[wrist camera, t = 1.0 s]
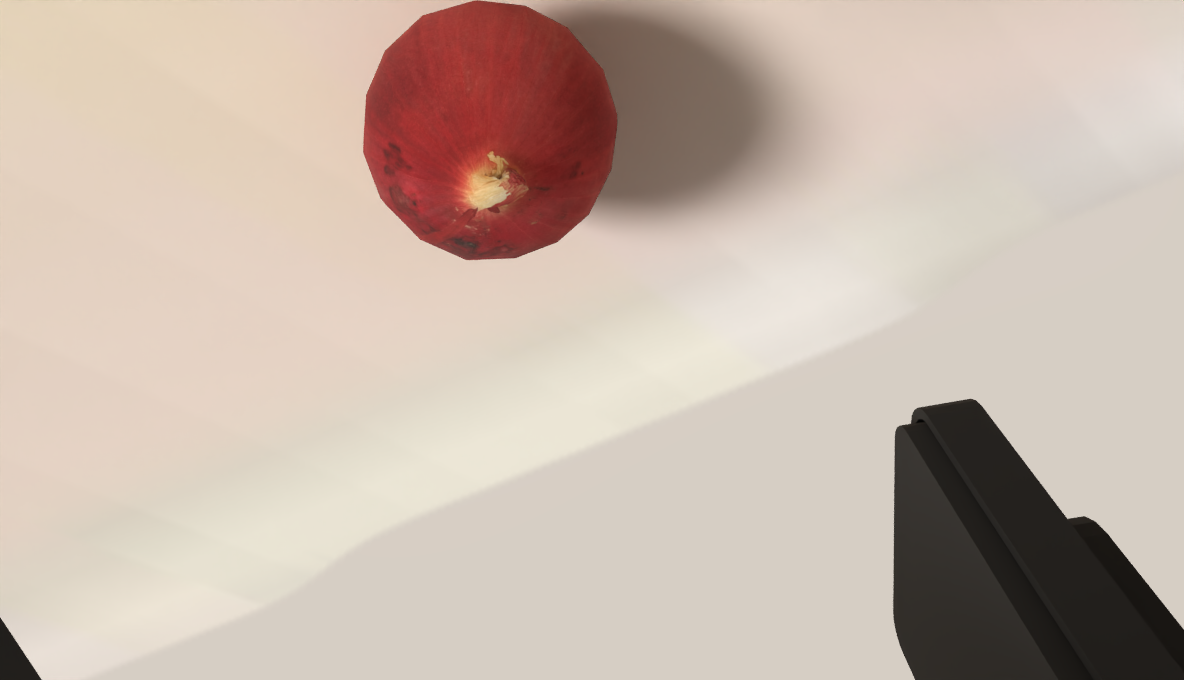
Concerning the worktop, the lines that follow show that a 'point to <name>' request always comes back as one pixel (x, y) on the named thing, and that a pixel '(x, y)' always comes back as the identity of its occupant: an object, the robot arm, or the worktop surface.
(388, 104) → the onion
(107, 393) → the worktop surface
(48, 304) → the worktop surface
